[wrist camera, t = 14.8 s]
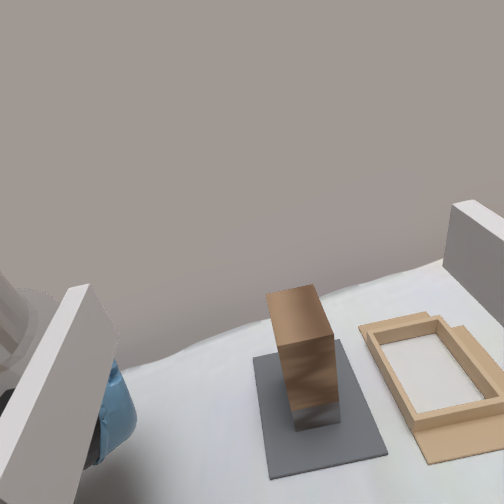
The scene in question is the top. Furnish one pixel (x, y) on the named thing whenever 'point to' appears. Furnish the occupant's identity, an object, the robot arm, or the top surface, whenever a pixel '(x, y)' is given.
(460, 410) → the carton
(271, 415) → the mat
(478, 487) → the top surface
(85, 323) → the robot arm
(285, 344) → the walnut box
